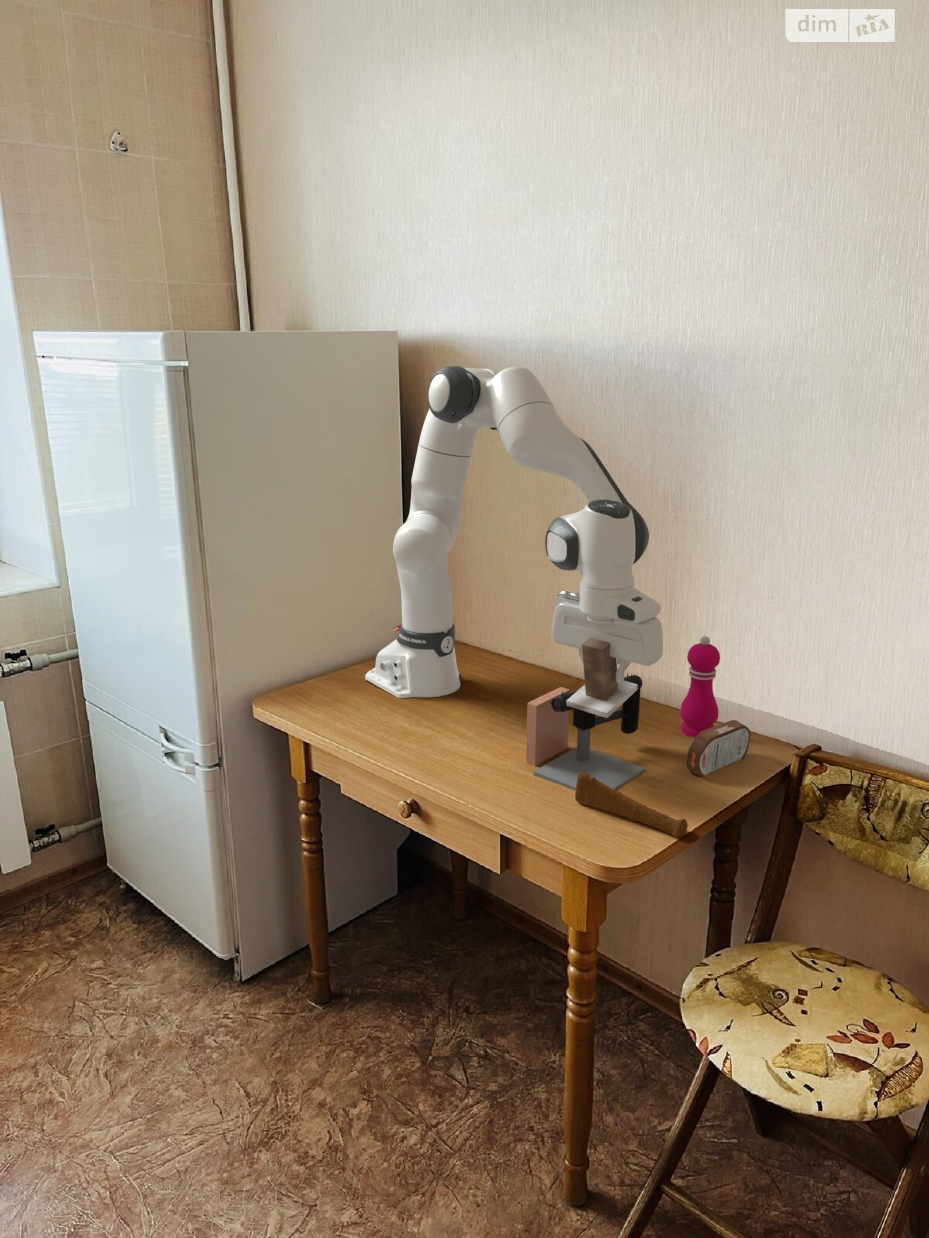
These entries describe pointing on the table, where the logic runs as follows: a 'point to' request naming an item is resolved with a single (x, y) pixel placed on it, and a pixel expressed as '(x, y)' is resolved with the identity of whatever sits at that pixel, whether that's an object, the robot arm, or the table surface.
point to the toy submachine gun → (589, 720)
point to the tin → (718, 747)
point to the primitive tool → (624, 806)
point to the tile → (546, 728)
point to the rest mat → (588, 769)
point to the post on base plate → (600, 682)
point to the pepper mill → (700, 689)
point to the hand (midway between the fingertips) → (603, 677)
